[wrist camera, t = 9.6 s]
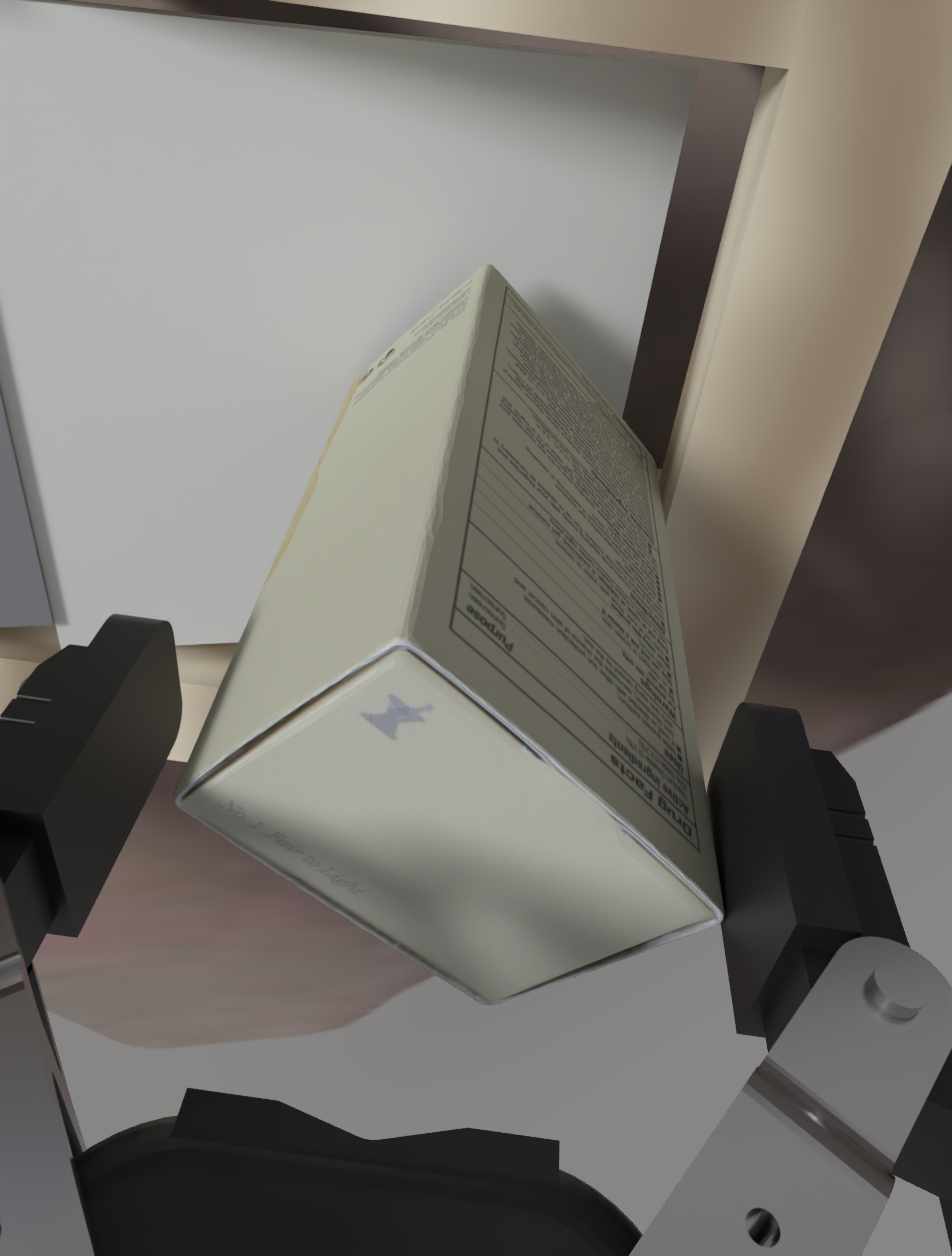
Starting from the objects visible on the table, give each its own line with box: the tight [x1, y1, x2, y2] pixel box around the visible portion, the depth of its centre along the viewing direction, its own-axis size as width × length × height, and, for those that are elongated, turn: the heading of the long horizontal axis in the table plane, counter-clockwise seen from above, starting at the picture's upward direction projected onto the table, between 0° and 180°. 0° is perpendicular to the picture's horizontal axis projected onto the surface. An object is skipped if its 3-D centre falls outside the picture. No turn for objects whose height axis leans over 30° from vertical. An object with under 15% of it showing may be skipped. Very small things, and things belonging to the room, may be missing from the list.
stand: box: [0, 0, 952, 793], centre depth 25 cm, size 22×21×17 cm
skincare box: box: [174, 264, 724, 1005], centre depth 16 cm, size 6×4×12 cm
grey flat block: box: [0, 0, 698, 650], centre depth 22 cm, size 19×14×5 cm
